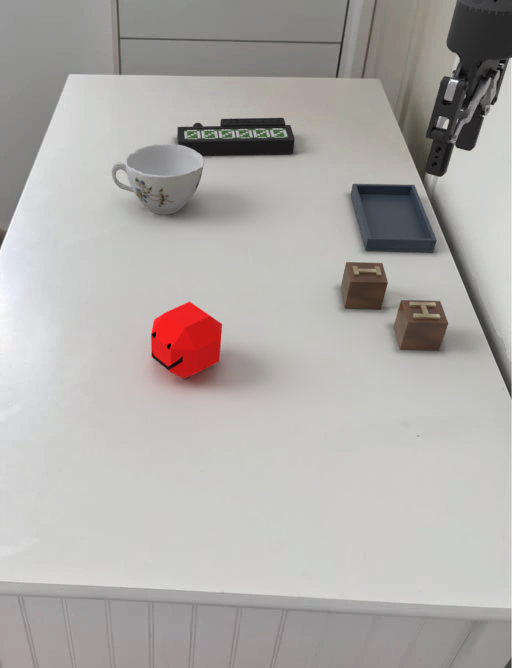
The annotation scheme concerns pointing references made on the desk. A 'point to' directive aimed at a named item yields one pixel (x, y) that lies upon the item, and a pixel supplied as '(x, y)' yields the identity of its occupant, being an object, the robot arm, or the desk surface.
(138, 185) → the teacup
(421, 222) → the word tray
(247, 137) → the digital display
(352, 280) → the tile
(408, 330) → the tile
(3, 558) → the desk surface
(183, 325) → the ball
